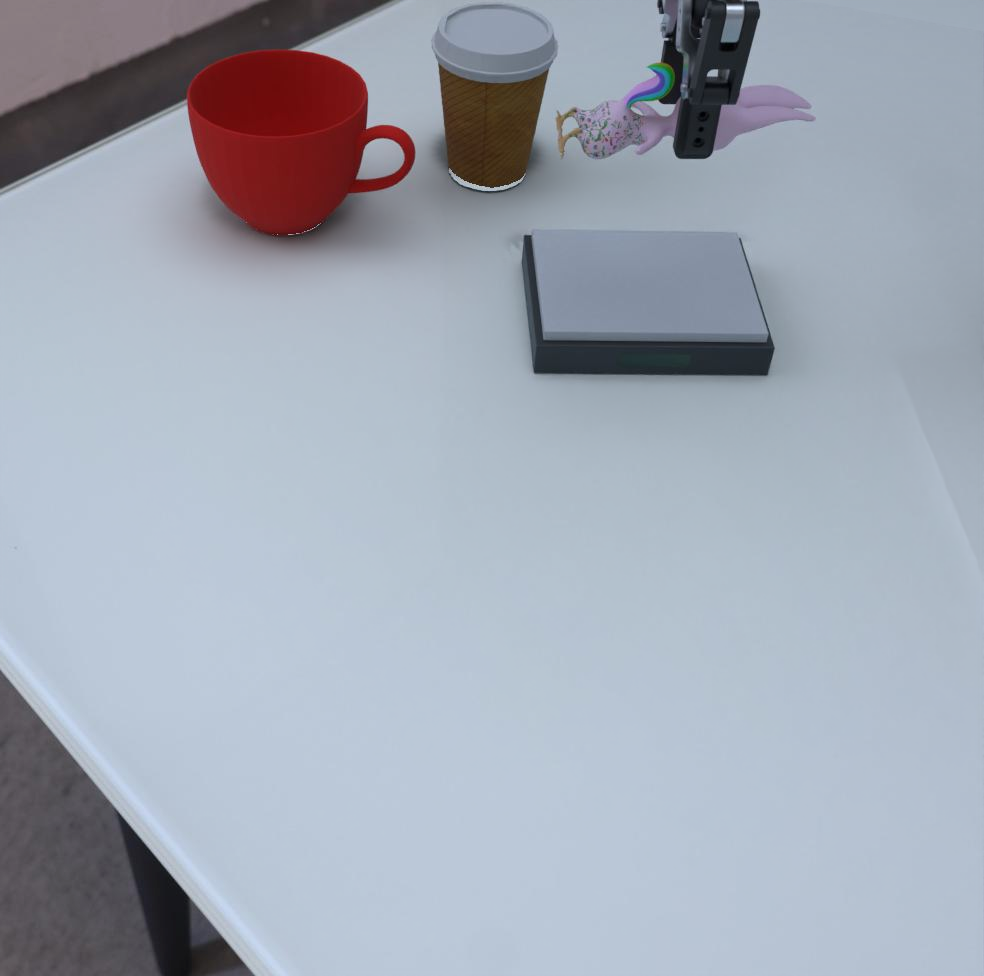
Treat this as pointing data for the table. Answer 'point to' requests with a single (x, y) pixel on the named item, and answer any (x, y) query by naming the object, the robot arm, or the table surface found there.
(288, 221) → the ceramic cup
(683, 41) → the robot arm
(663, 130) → the rabbit figure
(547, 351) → the scale
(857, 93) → the table surface
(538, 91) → the disposable coffee cup
